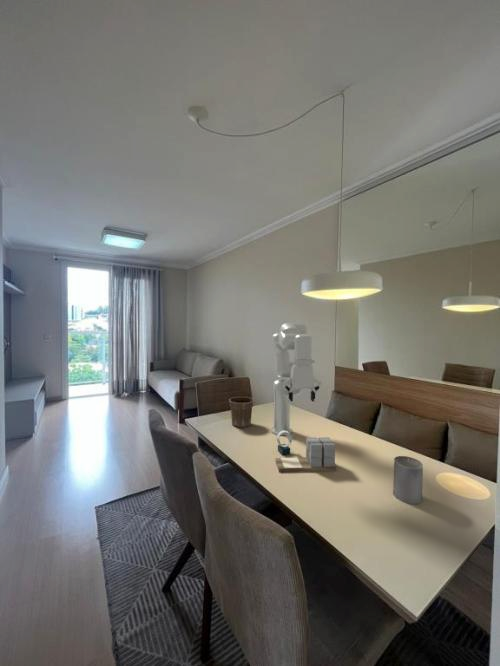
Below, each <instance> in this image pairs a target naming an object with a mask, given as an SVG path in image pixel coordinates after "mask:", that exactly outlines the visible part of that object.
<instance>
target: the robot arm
mask: <svg viewBox="0 0 500 666" xmlns="http://www.w3.org/2000/svg"><path fill="white" fill-rule="evenodd" d="M307 332H308V329H307V326H306V325H305V324H304V323H303V322H285V323H283V324H282V325H281V326H280V328H279V332H277V333H274V334H273V335H272V336H271V337H272V338H271V339H272V340H271V341H272V347H273V351H274V353H275V375H276V376H277V377H279V378H287V379H277V380H275V381H274V382H273V384H272V388H273V401H274V403H273V405H274V406H273V427H271V429H270V431H271V433H272V434H275V435H277V434H278V433H279V432H280V431H282V430H285V431H288V432H289V433H290V435H291V434H292V433H293V429H292V428H291V427H290V426H291V425H290V424H291V423H290V420H291V419H290V418H291V415H290V413H291V403H290V402H294V401H293V399H294V398H293V397H295V396H300V395H302V393H303V389H310V401H312V402H315V400H316V393H317V391H318V390H319V389H320V387H321V385H322V382H321V381H319V380H318V379H316V378H315V373H314V372H315V371H314V368H313V364H314V363H315V360H314V359H312V354H313V353H312V349H313V345H312V343H313V340H312V339H313V338H312V336H311V335H309V334H307ZM289 350H291V351H294V352H293V353H294V355H293V358H294V359H293V361H290V359H291V358H290V357H291V356H290V352H289ZM315 383H316V385H315ZM280 436H286V435H285V433H282V434H281V435H280Z"/></svg>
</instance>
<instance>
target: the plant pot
mask: <svg viewBox="0 0 500 666" xmlns="http://www.w3.org/2000/svg"><path fill="white" fill-rule="evenodd" d="M228 401H229V407H230V415H231V416H230V417H231V425H232V426H233V427H237V428H247V427H249V426H251V424H252V423H251V422H252V412H253V407H254V402H255V399H254V398H252V397H248V396H235V397H231V398H229V399H228Z"/></svg>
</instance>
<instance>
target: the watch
mask: <svg viewBox="0 0 500 666" xmlns="http://www.w3.org/2000/svg"><path fill="white" fill-rule="evenodd" d="M282 433H285V435H284V436H285V437H286V438H287V440H288V441H287V442H286V443H281V441H280V436H282V435H281V434H282ZM276 441H277V452H278V453H279V454H281V456H287V455H291V447H290V446H291V445H292V442H293V437H292V435H291V434H290V433H289V432H288V431H285V430H282V431H280V432H279V433H278V434H276Z"/></svg>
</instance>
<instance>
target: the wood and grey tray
mask: <svg viewBox="0 0 500 666" xmlns="http://www.w3.org/2000/svg"><path fill="white" fill-rule="evenodd" d="M305 440H306V441H305V443H306V444H305V457H275V458H274V459H275V460H274V461H275V465H276V467H277V469H278V473H292V472H293V473H294V472H295V473H296V472H297V473H299V472H337V466H336V465H335V464H336V463H335V462H336V461H335V460H336V443H334V441H333V440H332V439H330V437H306V438H305Z"/></svg>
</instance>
